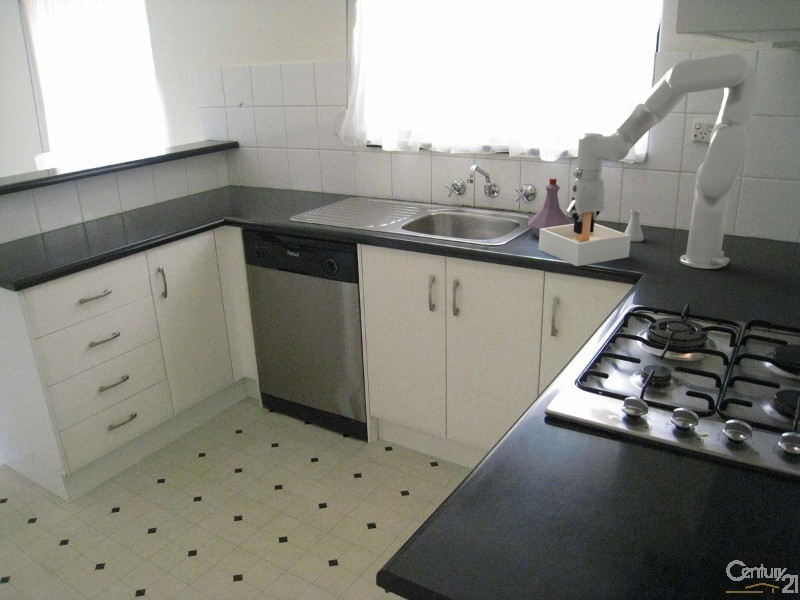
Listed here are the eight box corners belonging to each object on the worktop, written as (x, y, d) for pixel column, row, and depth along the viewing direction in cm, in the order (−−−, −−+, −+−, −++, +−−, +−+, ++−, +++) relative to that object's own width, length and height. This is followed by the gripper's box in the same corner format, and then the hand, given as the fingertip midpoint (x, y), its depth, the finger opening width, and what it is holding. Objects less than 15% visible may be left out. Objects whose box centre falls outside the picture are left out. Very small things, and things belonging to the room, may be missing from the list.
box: (628, 257, 212) (630, 235, 210) (576, 266, 205) (578, 244, 202) (587, 241, 230) (589, 221, 227) (538, 249, 222) (539, 228, 220)
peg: (591, 240, 215) (594, 210, 211) (581, 242, 213) (584, 211, 210) (583, 237, 218) (586, 207, 215) (573, 239, 217) (576, 208, 213)
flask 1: (559, 228, 247) (562, 173, 240) (582, 239, 232) (587, 181, 225) (518, 232, 243) (520, 176, 235) (539, 244, 228) (542, 185, 221)
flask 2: (645, 242, 227) (648, 213, 223) (622, 242, 228) (625, 213, 225) (642, 237, 233) (645, 208, 230) (620, 236, 235) (623, 208, 231)
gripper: (574, 179, 202) (569, 238, 209) (618, 174, 208) (612, 232, 215) (558, 175, 208) (554, 232, 215) (602, 170, 215) (596, 226, 221)
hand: (583, 231), depth 215 cm, fingers closed on peg, 4 cm apart
